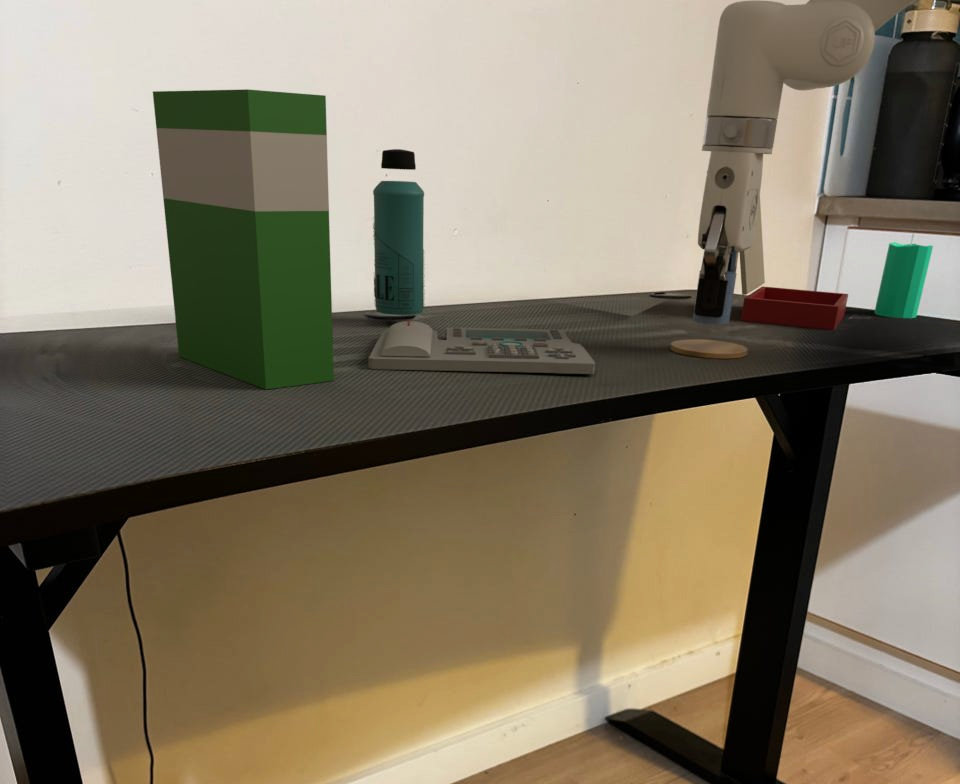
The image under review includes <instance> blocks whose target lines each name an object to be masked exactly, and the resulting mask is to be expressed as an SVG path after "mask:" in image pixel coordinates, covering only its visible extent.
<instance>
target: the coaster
mask: <svg viewBox="0 0 960 784" xmlns="http://www.w3.org/2000/svg"><path fill="white" fill-rule="evenodd" d="M670 350H671V351H672V352H673V353H676V354H680V355H684V356H689V357H694V358H704V359H719V360H720V359H721V360H729V359H740V358H745V357H746V356H747V355H748V351H749V350H748V348H747V347H746V346H744V345H741V344H739V343H734V342H729V341H722V340H713V339H701V338H700V339H696V338H695V339H693V338H692V339H679V340H678V339H677V340H674V341H672V342H671V343H670Z"/></svg>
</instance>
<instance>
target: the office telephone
mask: <svg viewBox="0 0 960 784" xmlns="http://www.w3.org/2000/svg"><path fill="white" fill-rule="evenodd" d="M438 336H439V335H438V330H434V329H433V328H432V327H431V326H430V325H429V324H427V323H424V322H421V321H415V320H413V321H412V320H411V319H408V320H405V321H399V322H396V323H393V324H392V325H390V326H389V328H388V329H385V330H383V331H382V333H381V335H380V337H379V338H378V339H377V341H376V342H375V344H374V346H373V349H372V351H371V353H370V354H369V356H368V358H367V359H368V369H370V370H395V371H396V370H397V371H399V370H400V371H402V370H403V371H448V372H449V371H450V372H488V373H489V372H490V373H491V372H493V373H494V372H495V373H496V372H497V373H541V374H543V373H544V374H567V375H570V374H571V375H576V374H577V375H594V374H595V366H596V362H595V360H594V359H593V357H592V356H591V355H590V354H589V352H588V351H587V350H586V348H584V346H583V345H582V344H580V343H575V342H572V340H570V338H569V337H568V336H567V330H563V329H537V328H536V329H532V328H498V327H497V328H495V327H494V328H493V327H491V328H489V327H445V328H444V338H446V339H439V337H438Z"/></svg>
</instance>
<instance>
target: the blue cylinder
mask: <svg viewBox="0 0 960 784" xmlns="http://www.w3.org/2000/svg"><path fill="white" fill-rule="evenodd" d="M700 272H701V269H700V270H699V273H698V280H697V283H698V282H699V278H700ZM737 274H738V273H737V272H736V273H735V272H730V271H727V274H726V279H725V280H727V281H728V284H727V291H726V297H725V304H724V310H723V315H722V316H721V317H719V318H716V317H707V316H698V315H695V313H694V311H695V307H694V309H693V315H692V321H693V322H695V323H699V324H703V325H714V326H715V325H716V326H717V325H719V326H720V325H728V324H730V319H731V313H732V305H733V300H734V293H735V287H736V280H737ZM697 289H698V285H697V288H696V290H697ZM696 297H697V292H695V298H696ZM695 304H696V299H695V302H694V305H695Z"/></svg>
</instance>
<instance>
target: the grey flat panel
mask: <svg viewBox="0 0 960 784" xmlns="http://www.w3.org/2000/svg"><path fill="white" fill-rule="evenodd" d="M761 206H762V205H761V196H760V197H759V204H758V212H757V220H756V228H755V236H754V242H753V245H752V246H751V247H750V248H748V249H746V250H744V251H741V252H739V253H738V254H739V266H740V267H739V268H740V281H741V282H740V283H741V295H742V296H744V295H745V296H746V295H749V293H750V294H751V293H752V292H754V291H755V290H757V289H759V288H760V287H762V285H764V284H765V283H766V281H765V262H764V243H763V226H762V225H763V223H762V211H761V209H762V207H761Z"/></svg>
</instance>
